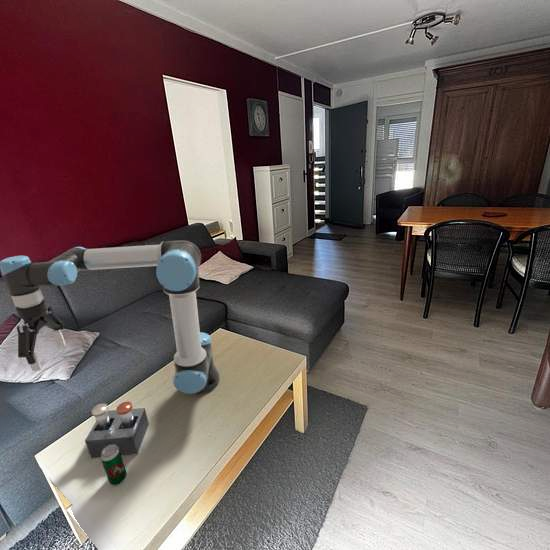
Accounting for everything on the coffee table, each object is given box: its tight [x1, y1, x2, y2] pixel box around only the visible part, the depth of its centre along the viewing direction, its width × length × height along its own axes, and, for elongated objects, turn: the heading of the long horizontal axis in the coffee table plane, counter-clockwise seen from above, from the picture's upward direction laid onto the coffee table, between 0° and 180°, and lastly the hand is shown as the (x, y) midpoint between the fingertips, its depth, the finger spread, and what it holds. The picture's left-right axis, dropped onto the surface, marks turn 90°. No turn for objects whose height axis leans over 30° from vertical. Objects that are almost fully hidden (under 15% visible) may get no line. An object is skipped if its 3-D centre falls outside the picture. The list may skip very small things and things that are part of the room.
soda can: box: [100, 444, 128, 486], centre depth 91 cm, size 5×5×12 cm
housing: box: [84, 407, 150, 459], centre depth 104 cm, size 15×12×8 cm
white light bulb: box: [90, 403, 111, 431], centre depth 101 cm, size 5×5×8 cm
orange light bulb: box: [116, 401, 135, 429], centre depth 102 cm, size 5×5×8 cm
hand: (50, 357), depth 106 cm, fingers open, 13 cm apart
